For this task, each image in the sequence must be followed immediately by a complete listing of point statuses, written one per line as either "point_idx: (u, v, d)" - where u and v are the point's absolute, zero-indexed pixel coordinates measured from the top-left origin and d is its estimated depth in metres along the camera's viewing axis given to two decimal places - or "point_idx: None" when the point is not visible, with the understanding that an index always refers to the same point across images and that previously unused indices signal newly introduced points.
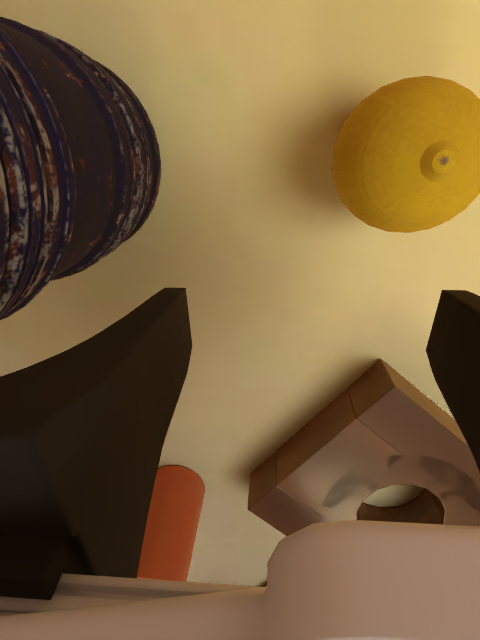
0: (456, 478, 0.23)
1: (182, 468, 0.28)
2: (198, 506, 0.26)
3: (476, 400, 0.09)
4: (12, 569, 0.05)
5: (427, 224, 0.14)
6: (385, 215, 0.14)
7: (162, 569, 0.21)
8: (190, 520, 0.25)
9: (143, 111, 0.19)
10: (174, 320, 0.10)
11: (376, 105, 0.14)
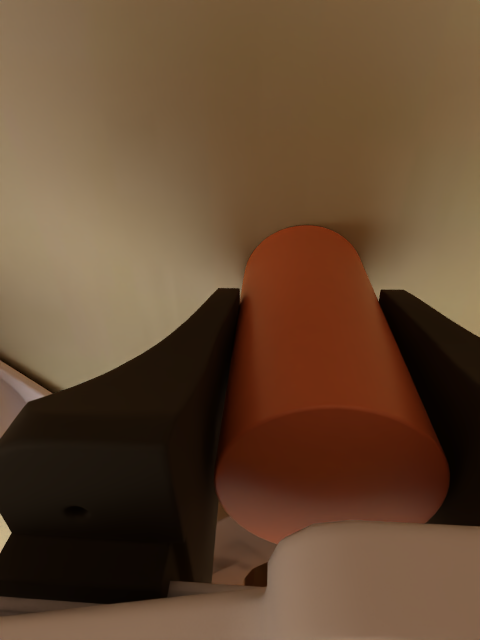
0: None
1: None
2: None
3: None
4: (127, 577, 0.05)
5: None
6: None
7: None
8: None
9: None
10: (233, 321, 0.10)
11: None
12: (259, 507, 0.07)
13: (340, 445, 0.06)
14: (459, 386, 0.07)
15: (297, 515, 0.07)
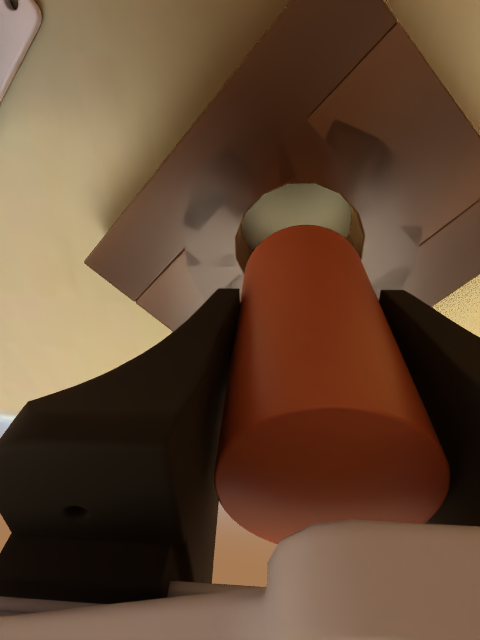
0: None
1: None
2: None
3: None
4: (127, 576, 0.05)
5: None
6: None
7: None
8: None
9: None
10: (233, 321, 0.10)
11: None
12: (259, 507, 0.07)
13: (340, 444, 0.06)
14: (459, 386, 0.07)
15: (297, 515, 0.07)
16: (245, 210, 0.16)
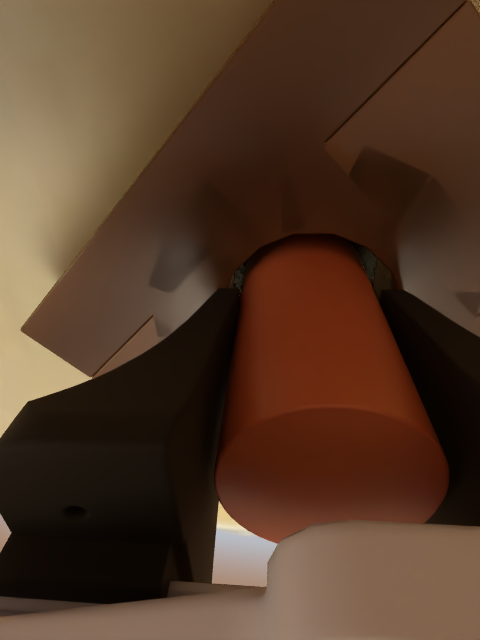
0: None
1: None
2: None
3: None
4: (127, 577, 0.05)
5: None
6: None
7: None
8: None
9: None
10: (233, 321, 0.10)
11: None
12: (259, 507, 0.07)
13: (339, 444, 0.06)
14: (459, 386, 0.07)
15: (296, 514, 0.07)
16: (234, 268, 0.11)
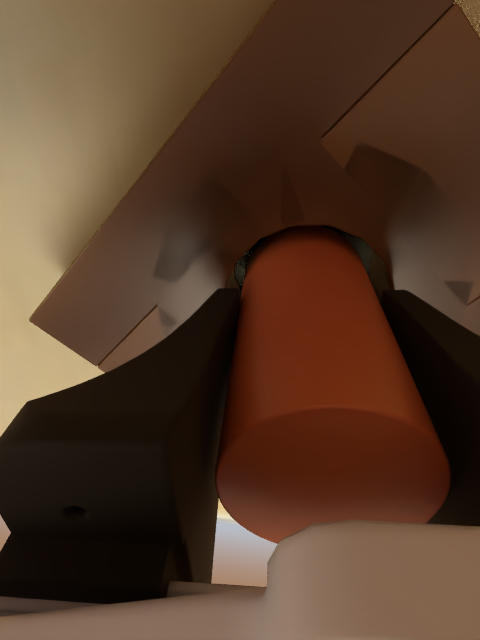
0: None
1: None
2: None
3: None
4: (127, 576, 0.05)
5: None
6: None
7: None
8: None
9: None
10: (233, 321, 0.10)
11: None
12: (259, 507, 0.07)
13: (341, 444, 0.06)
14: (462, 386, 0.07)
15: (297, 515, 0.07)
16: (235, 259, 0.12)
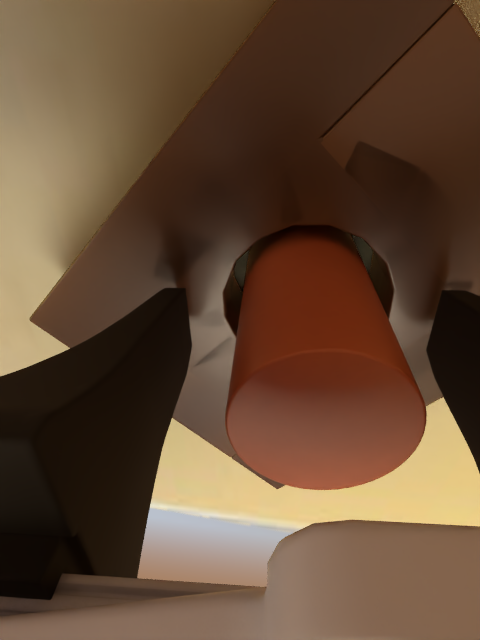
0: None
1: None
2: None
3: (476, 400, 0.09)
4: (12, 569, 0.05)
5: None
6: None
7: None
8: None
9: None
10: (174, 320, 0.10)
11: None
12: (263, 447, 0.09)
13: (332, 386, 0.07)
14: None
15: (296, 453, 0.09)
16: (235, 259, 0.12)
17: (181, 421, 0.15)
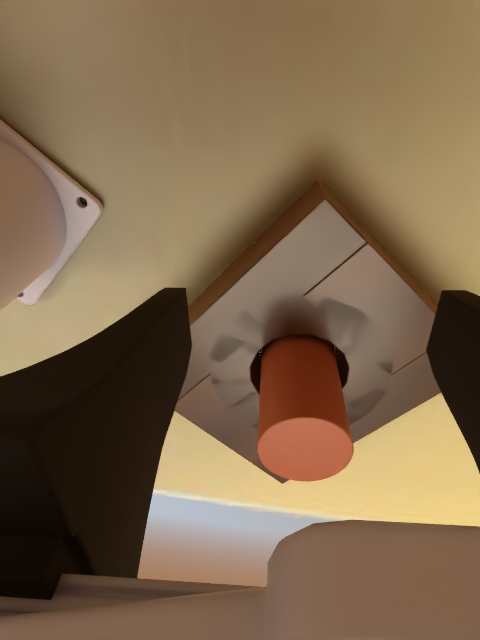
0: (349, 415, 0.22)
1: None
2: None
3: (476, 400, 0.09)
4: (12, 569, 0.05)
5: None
6: None
7: None
8: None
9: None
10: (174, 320, 0.10)
11: None
12: (276, 459, 0.17)
13: (308, 432, 0.16)
14: None
15: (292, 463, 0.17)
16: (257, 350, 0.20)
17: (220, 440, 0.24)
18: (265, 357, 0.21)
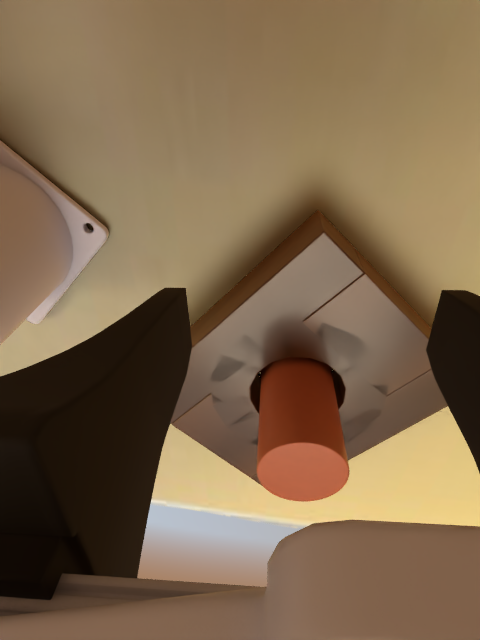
0: (345, 434, 0.23)
1: None
2: None
3: (476, 400, 0.09)
4: (12, 569, 0.05)
5: None
6: None
7: None
8: None
9: None
10: (174, 320, 0.10)
11: None
12: (274, 481, 0.18)
13: (305, 456, 0.17)
14: None
15: (290, 484, 0.18)
16: (257, 371, 0.21)
17: (220, 455, 0.25)
18: (264, 378, 0.21)
